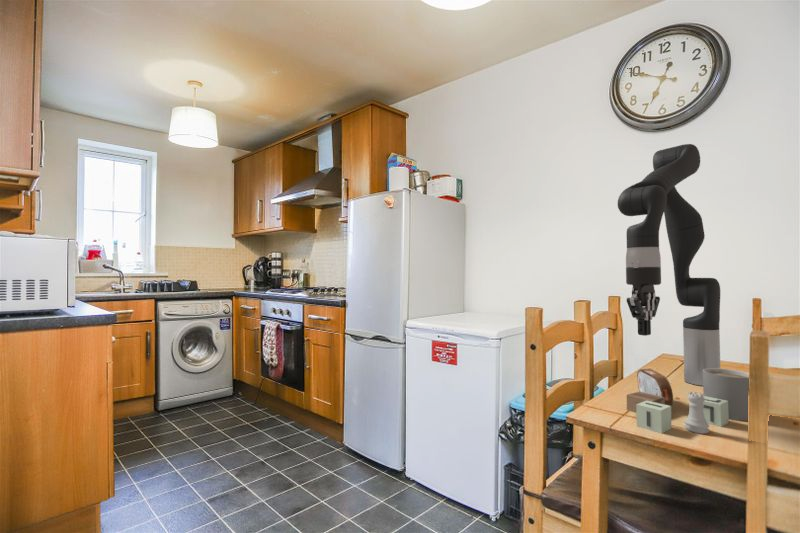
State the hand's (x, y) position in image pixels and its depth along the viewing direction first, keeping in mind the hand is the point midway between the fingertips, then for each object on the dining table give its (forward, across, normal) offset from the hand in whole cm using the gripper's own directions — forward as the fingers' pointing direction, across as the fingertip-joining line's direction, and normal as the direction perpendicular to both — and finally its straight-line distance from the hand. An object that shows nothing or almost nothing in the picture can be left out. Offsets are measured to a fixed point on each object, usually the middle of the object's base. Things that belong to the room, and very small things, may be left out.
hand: (644, 334), depth 100 cm
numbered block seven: (+19, -5, +12) cm, 23 cm away
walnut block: (+19, 0, 0) cm, 19 cm away
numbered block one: (+19, +10, +6) cm, 22 cm away
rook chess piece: (+19, +4, +12) cm, 23 cm away
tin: (+19, -9, -2) cm, 21 cm away
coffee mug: (+19, -16, +12) cm, 28 cm away
